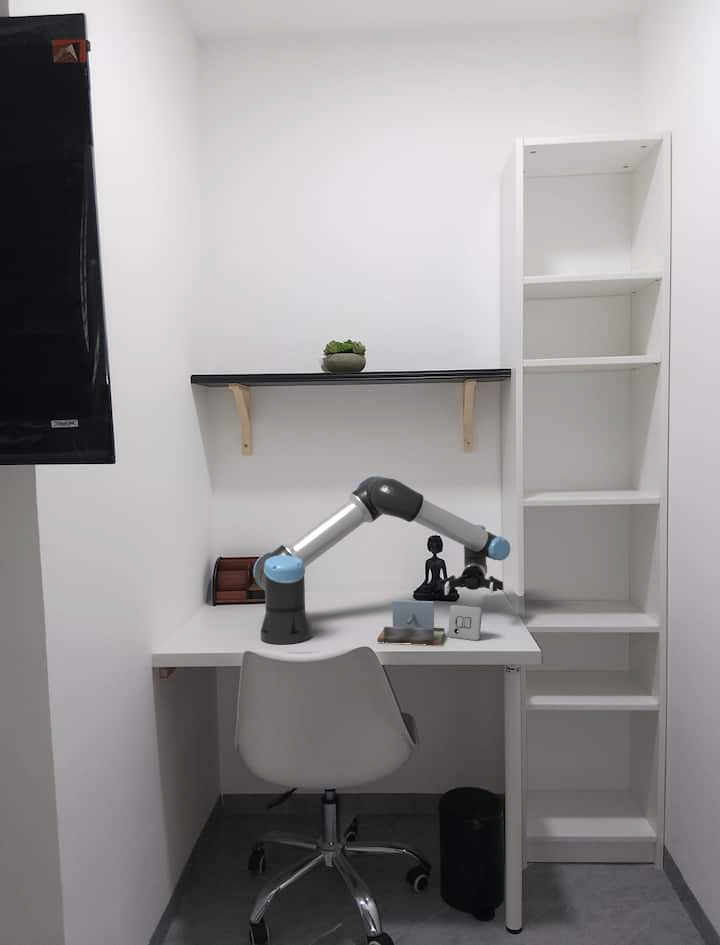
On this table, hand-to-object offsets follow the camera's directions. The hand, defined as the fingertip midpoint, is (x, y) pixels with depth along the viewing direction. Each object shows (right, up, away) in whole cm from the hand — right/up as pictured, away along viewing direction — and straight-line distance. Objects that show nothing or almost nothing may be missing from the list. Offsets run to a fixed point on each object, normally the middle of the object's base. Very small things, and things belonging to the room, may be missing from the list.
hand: (468, 591), depth 218 cm
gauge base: (-18, -12, -11) cm, 24 cm away
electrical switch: (-2, -12, -9) cm, 15 cm away
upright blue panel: (-17, -10, -11) cm, 22 cm away
